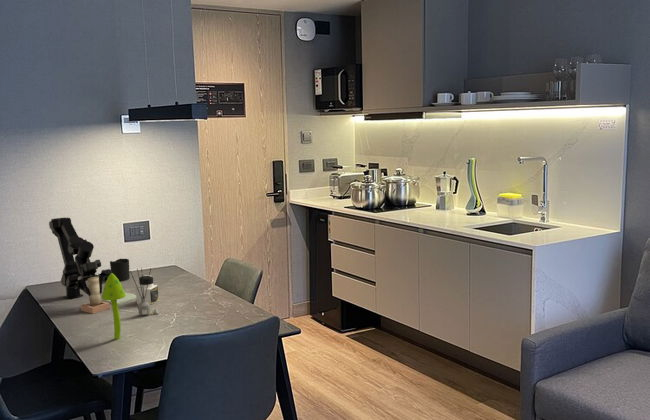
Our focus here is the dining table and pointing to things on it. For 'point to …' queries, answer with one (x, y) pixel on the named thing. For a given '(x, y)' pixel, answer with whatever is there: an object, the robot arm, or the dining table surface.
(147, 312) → the reed diffuser
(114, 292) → the mushroom
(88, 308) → the terracotta socket
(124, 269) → the pen holder
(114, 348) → the dining table surface
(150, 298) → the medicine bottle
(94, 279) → the beige ribbed peg
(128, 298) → the sage board
